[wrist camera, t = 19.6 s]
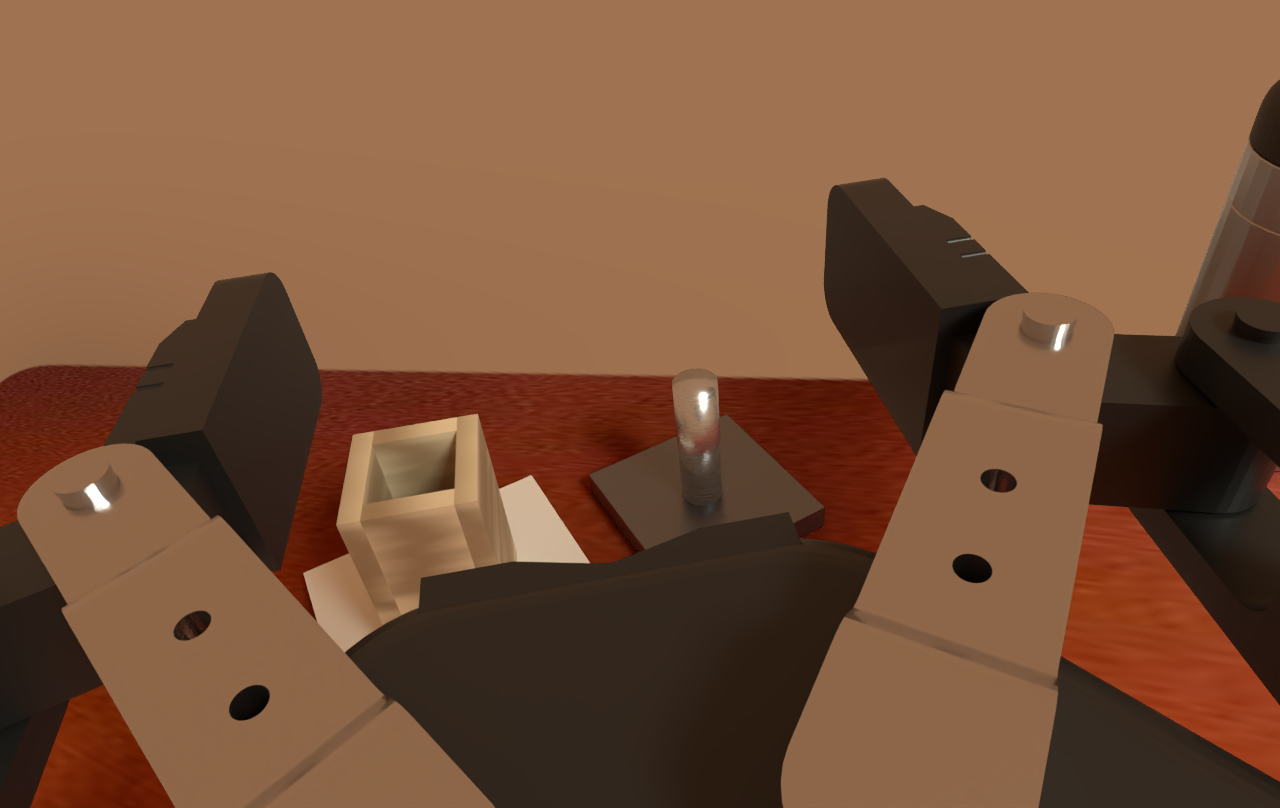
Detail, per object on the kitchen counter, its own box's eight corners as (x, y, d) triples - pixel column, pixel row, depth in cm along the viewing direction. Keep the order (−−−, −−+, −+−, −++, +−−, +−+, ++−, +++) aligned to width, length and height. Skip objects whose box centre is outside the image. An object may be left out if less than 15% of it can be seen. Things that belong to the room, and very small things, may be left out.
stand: (727, 431, 55) (722, 310, 49) (823, 525, 48) (831, 396, 42) (592, 492, 52) (569, 369, 46) (673, 602, 45) (659, 473, 39)
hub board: (535, 492, 52) (512, 399, 47) (642, 655, 42) (627, 557, 37) (312, 590, 48) (262, 497, 43) (372, 798, 38) (317, 707, 33)
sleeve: (516, 551, 46) (477, 413, 40) (520, 640, 42) (477, 500, 36) (409, 570, 46) (353, 434, 40) (400, 662, 41) (335, 525, 35)
